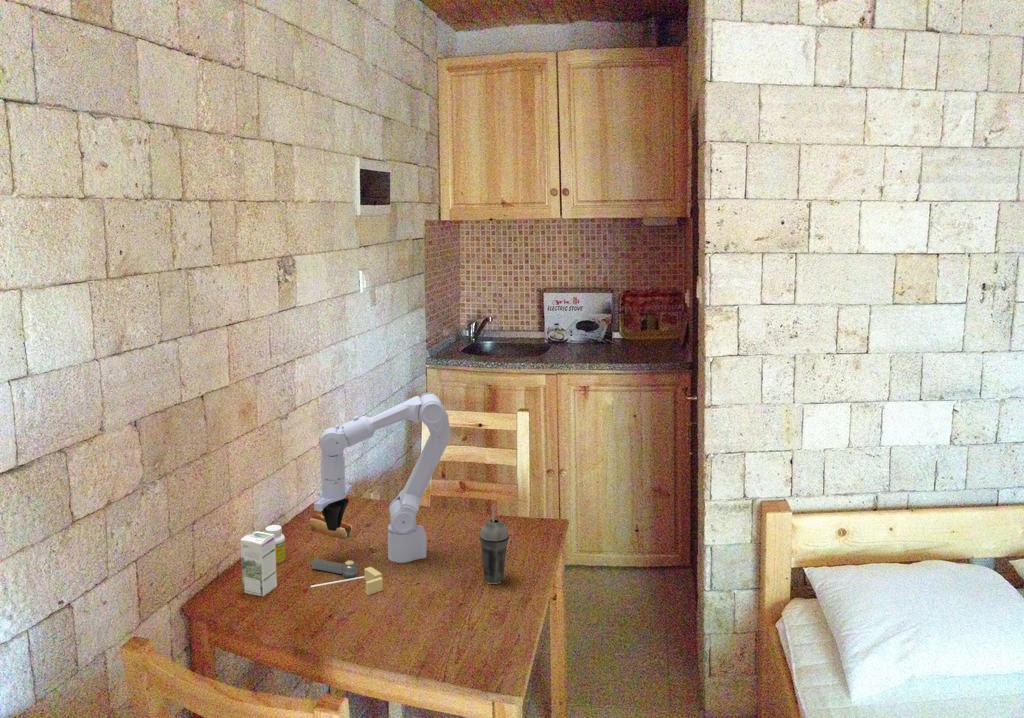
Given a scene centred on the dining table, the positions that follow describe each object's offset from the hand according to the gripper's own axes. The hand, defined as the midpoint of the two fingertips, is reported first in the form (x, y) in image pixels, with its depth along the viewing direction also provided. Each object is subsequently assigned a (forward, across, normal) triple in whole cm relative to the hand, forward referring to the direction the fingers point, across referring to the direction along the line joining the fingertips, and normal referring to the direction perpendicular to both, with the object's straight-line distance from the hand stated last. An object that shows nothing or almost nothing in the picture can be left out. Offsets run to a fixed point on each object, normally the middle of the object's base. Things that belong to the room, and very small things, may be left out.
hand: (334, 528), depth 208 cm
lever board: (+10, +10, +9) cm, 17 cm away
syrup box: (+10, +20, -8) cm, 24 cm away
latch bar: (+9, +6, +3) cm, 11 cm away
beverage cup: (+10, -7, +40) cm, 42 cm away
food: (+10, -16, -11) cm, 22 cm away
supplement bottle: (+10, +5, -14) cm, 18 cm away
